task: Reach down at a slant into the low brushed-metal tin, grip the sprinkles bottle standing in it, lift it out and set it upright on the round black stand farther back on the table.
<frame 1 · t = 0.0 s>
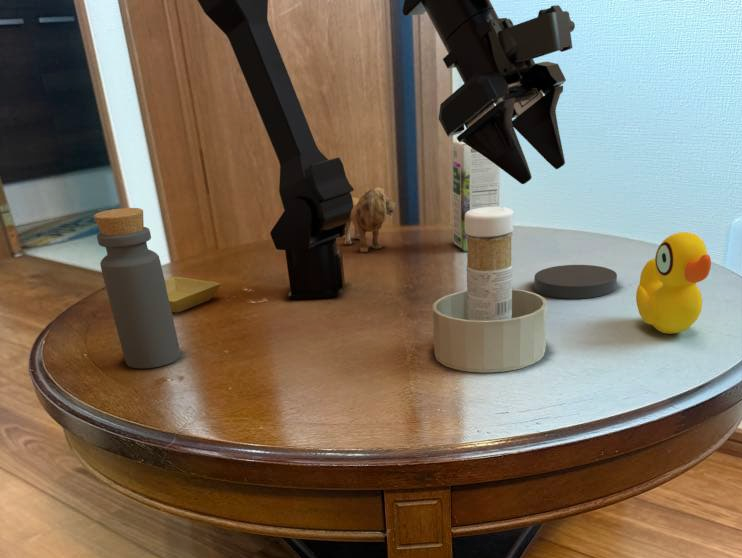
hand: (544, 173, 83), 15 cm above the table, tool tilted 35°, fingers open, 9 cm apart
sprinkles bottle: (489, 351, 82), resting on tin
lion figurine: (366, 247, 126), on the table
duckling: (667, 332, 84), on the table
syrup box: (476, 247, 122), on the table
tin: (489, 352, 82), on the table
yellow shallow tray: (178, 305, 104), on the table
stand: (574, 287, 100), on the table
bottle: (154, 361, 87), on the table
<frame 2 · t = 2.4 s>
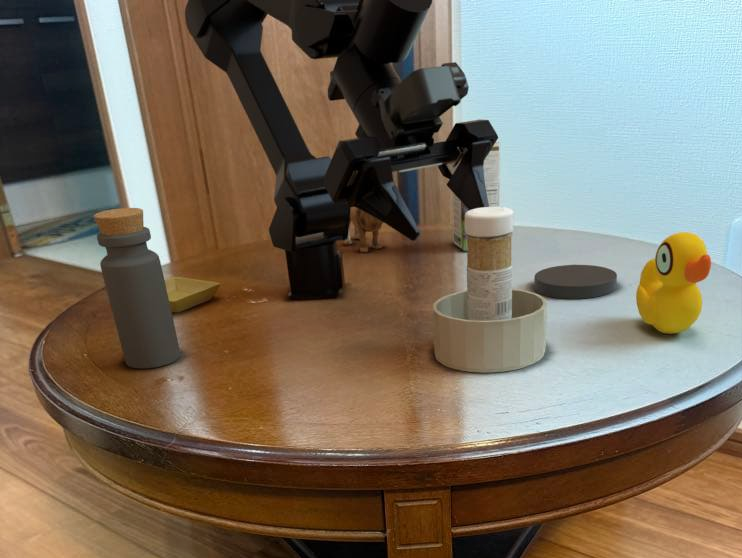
hand: (453, 229, 79), 11 cm above the table, tool tilted 45°, fingers open, 9 cm apart
nothing on the table moved.
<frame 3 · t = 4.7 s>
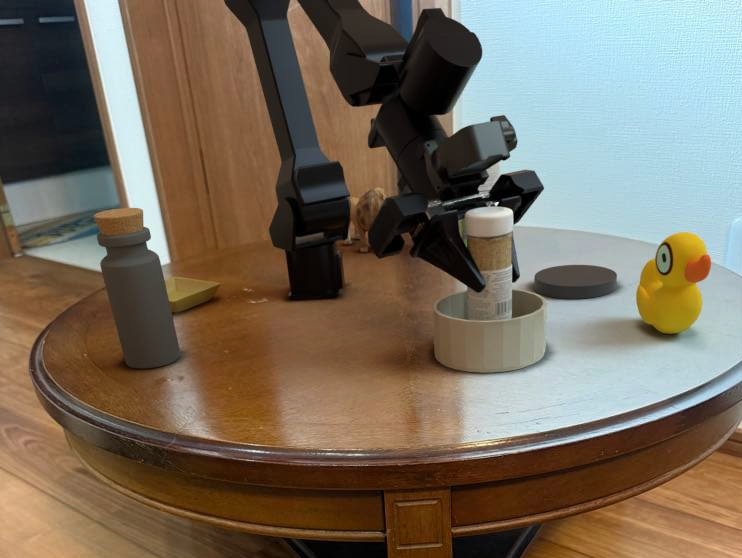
hand: (499, 285, 77), 7 cm above the table, tool tilted 45°, fingers closed on sprinkles bottle, 4 cm apart
sprinkles bottle: (489, 351, 82), resting on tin, touching gripper
everything else where it was.
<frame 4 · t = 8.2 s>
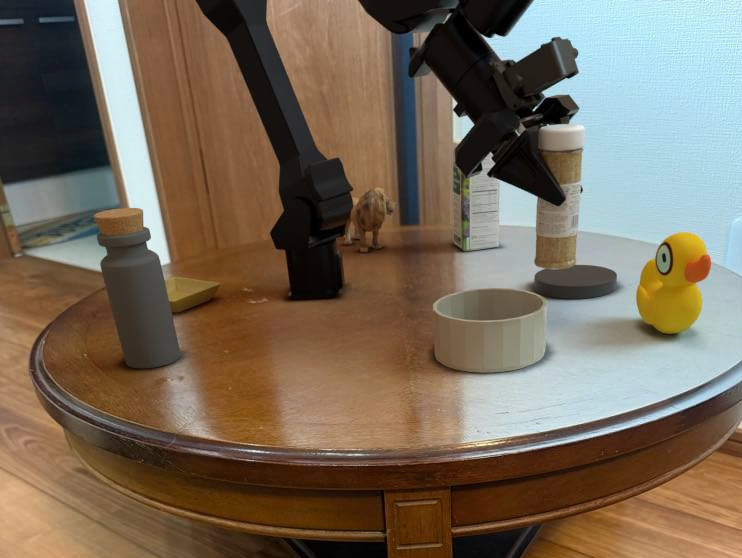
hand: (571, 198, 82), 13 cm above the table, tool tilted 45°, fingers closed on sprinkles bottle, 4 cm apart
sprinkles bottle: (554, 267, 86), point 6 cm above the table, touching gripper
everything else where it was.
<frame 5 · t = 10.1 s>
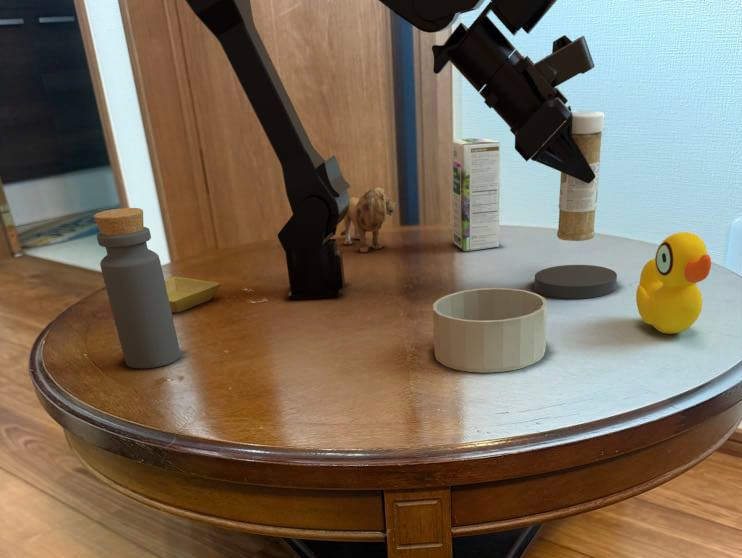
hand: (591, 176, 93), 13 cm above the table, tool tilted 45°, fingers closed on sprinkles bottle, 4 cm apart
sprinkles bottle: (575, 239, 97), point 6 cm above the table, touching gripper
everything else where it was.
when the fingers open (8 cm above the table, at t = 11.7 s): sprinkles bottle stays where it is, resting on stand.
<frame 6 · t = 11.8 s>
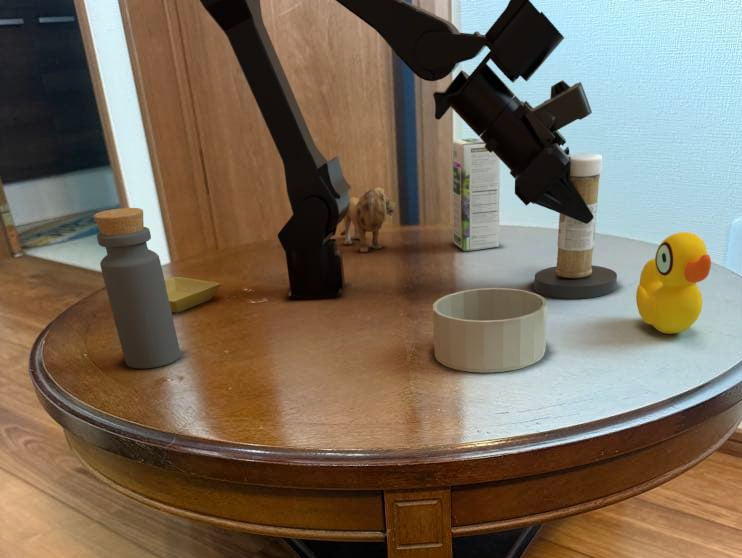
hand: (589, 216, 95), 8 cm above the table, tool tilted 45°, fingers open, 4 cm apart
sprinkles bottle: (573, 276, 99), point 1 cm above the table, touching stand
everything else where it was.
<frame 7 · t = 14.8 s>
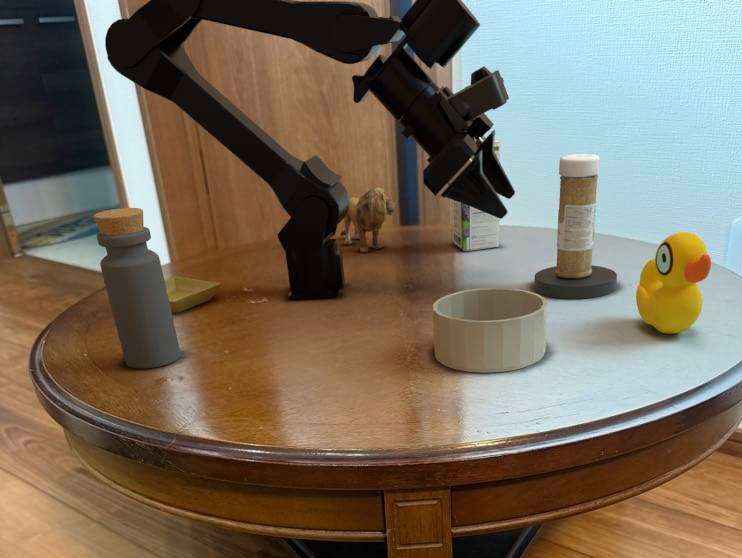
hand: (508, 205, 96), 10 cm above the table, tool tilted 45°, fingers open, 9 cm apart
nothing on the table moved.
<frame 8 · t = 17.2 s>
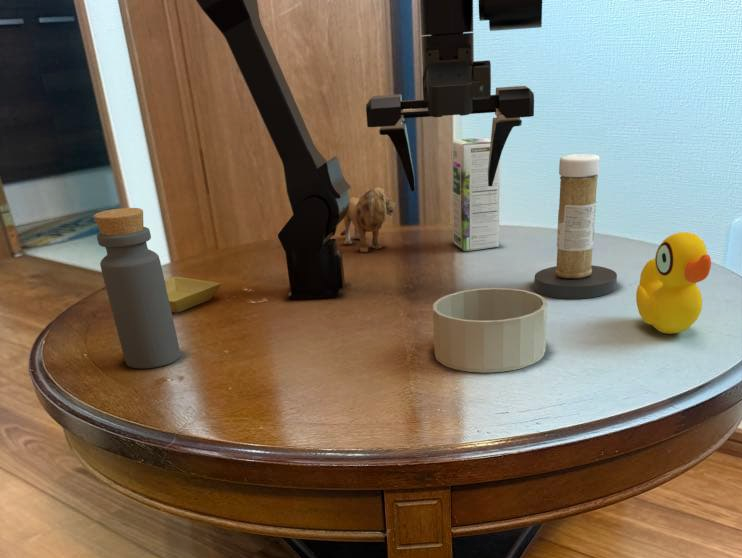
hand: (451, 188, 96), 12 cm above the table, tool pointing down, fingers open, 9 cm apart
nothing on the table moved.
at the end: sprinkles bottle 0.2 cm off-centre on the stand, point 1.3 cm above the stand's base; sprinkles bottle tilted 0°; the gripper is holding nothing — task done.
